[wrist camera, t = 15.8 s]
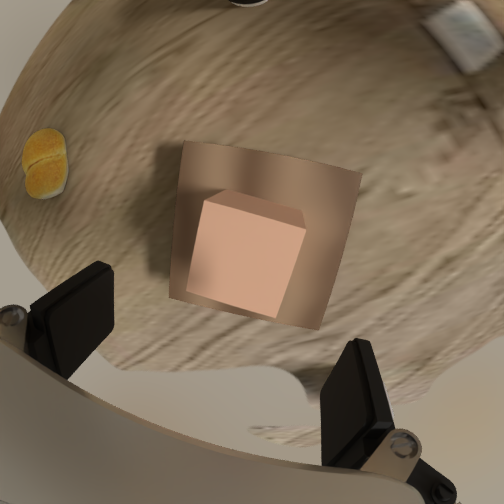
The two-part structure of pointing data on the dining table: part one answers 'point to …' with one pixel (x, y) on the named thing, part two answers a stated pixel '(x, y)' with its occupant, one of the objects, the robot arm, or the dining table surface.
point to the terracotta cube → (245, 251)
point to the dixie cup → (248, 2)
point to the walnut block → (278, 191)
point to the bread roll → (45, 164)
